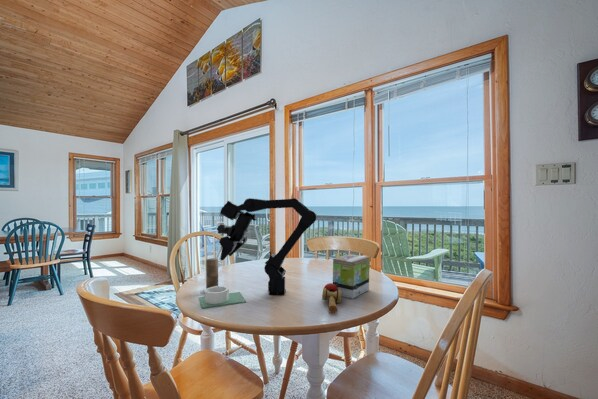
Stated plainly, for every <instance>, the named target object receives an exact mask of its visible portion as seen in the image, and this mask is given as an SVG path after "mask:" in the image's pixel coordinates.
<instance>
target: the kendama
mask: <svg viewBox="0 0 598 399" xmlns="http://www.w3.org/2000/svg"><path fill="white" fill-rule="evenodd" d="M322 289H323V290H322V295H321V300H322V301H326V300H328V312H329V313H330V314H336V313H337V312H338V308H337V304H340V303H341V302H342V301H341V300H342V296H341V290H338V288H337V286H336V285H335V284H333V282H331V283H330V282H329V283H327V284H325V285H324V287H323V288H322ZM336 303H337V304H336Z"/></svg>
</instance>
